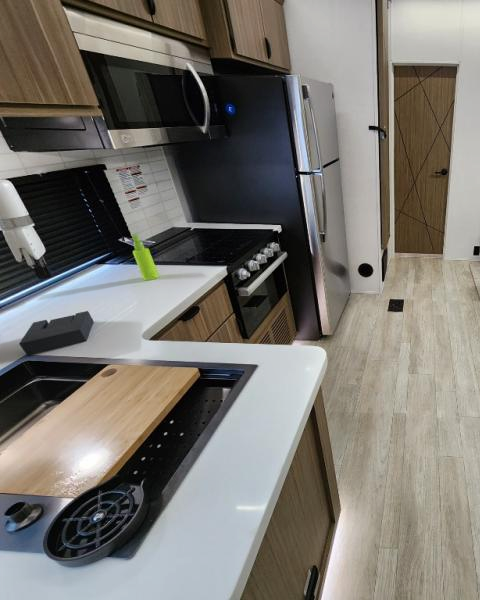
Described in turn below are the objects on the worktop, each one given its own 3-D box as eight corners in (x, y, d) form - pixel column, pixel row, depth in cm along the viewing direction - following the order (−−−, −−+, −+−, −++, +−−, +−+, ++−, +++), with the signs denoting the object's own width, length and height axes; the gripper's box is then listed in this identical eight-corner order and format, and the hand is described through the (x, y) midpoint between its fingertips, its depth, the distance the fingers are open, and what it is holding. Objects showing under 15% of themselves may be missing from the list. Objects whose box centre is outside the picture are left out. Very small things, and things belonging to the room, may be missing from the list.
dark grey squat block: (52, 339, 107) (45, 328, 105) (57, 331, 112) (50, 319, 110) (76, 334, 110) (70, 322, 108) (80, 325, 114) (74, 314, 112)
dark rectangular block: (27, 355, 100) (18, 343, 98) (40, 333, 110) (33, 322, 108) (86, 341, 106) (80, 329, 104) (93, 321, 117) (88, 310, 115)
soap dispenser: (157, 273, 154) (140, 231, 145) (160, 277, 150) (144, 234, 141) (142, 277, 151) (124, 234, 141) (145, 281, 146) (127, 237, 137)
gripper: (6, 219, 104) (37, 272, 113) (-13, 230, 93) (23, 288, 102) (38, 215, 108) (66, 267, 117) (24, 226, 97) (55, 282, 105)
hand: (46, 277), depth 109 cm, fingers closed
